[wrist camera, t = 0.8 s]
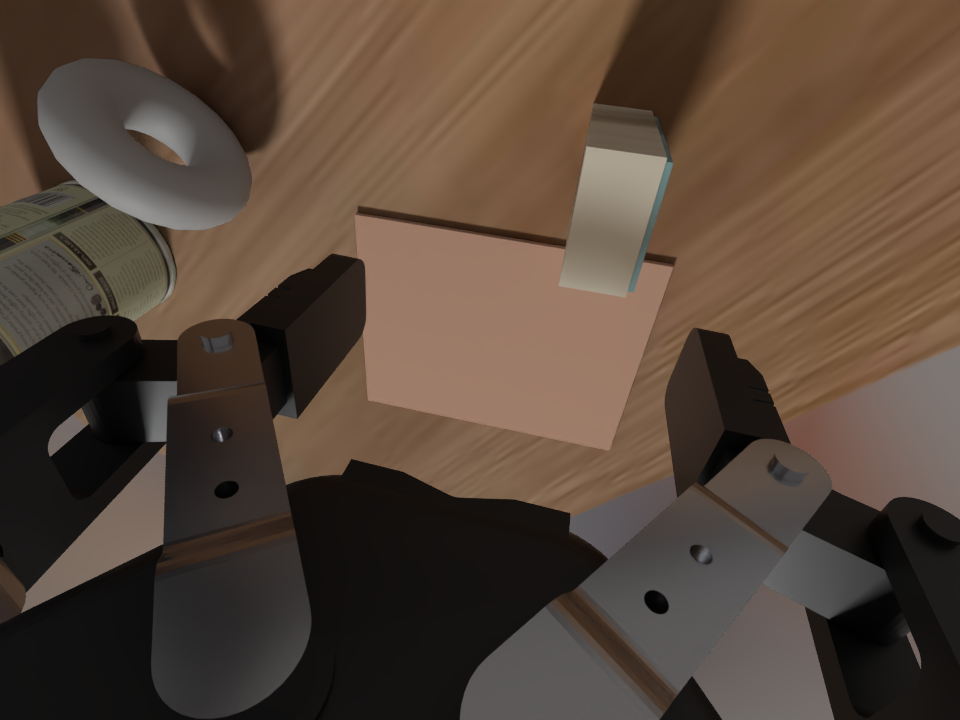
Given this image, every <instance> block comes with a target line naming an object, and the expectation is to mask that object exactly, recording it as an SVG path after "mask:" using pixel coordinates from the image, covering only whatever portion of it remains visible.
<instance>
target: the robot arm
mask: <svg viewBox="0 0 960 720" xmlns="http://www.w3.org/2000/svg"><path fill="white" fill-rule="evenodd" d="M365 323H366V277H365V265H364V262H363V261H362V260H361V259H357V258H352V257H347V256H342V255H337V254H330V255H329V256H328V257H327V258H326V259H324V260H323V261H322V262H321V263H320V264H319V265H317V266H316V267H315V268H314V269H306V270H304V271H301V272H298V273H296V274H293V275H291V276H289V277H288V278H287V279H286V280H284V281H283V282H282V283H281V284H279V285H278V288H275V289H273V290H272V291H271V292H270V293H268V296H265V297H264V298H262V299H261V300H260V301H259V302H257V303H256V304H255V305H254V306H253V307H251V308H250V309H249V310H248V311H246V312H245V313H244V314H243V315H242V316H240V317H239V318H238V319H237V320H234V319H215V320H209V321H205V322H201V323H198V324H196V325H194V326H191V327H190V328H188V329H186V330H185V331H184V332H183V333H182V334H181V335H180V336H179V338H178V340H141V337H140V334H139V331H138V328H137V325H136V324H135V322H134V321H132V320H131V319H128V318H126V317H122V316H115V315H103V316H94V317H89V318H84V319H81V320H77V321H74V322H72V323H69V324H67V325H65V326H63V327H62V328H60V329H58V330H57V331H55V332H53V333H52V334H50V335H49V336H47V337H45V338H44V339H42V340H41V341H39V342H38V343H36V344H34V345H33V346H31V347H30V348H28V349H26V350H25V351H23V352H22V353H20V354H18V355H17V356H15V357H14V358H12V359H10V360H9V361H7V362H6V363H4V364H2V365H1V366H0V720H722V719H721V717H720V716H719V714H718V713H717V711H716V710H715V709H714V707H713V706H712V704H711V703H710V701H709V700H708V698H707V697H706V695H705V694H704V692H703V691H702V690H701V688H700V687H699V685H698V684H697V682H696V681H695V679H694V678H693V677H692V675H693V674H694V673H695V671H696V670H697V669H698V667H699V666H700V665H701V663H702V662H703V661H704V659H705V658H706V657H707V655H708V654H709V653H710V652H711V650H712V649H713V648H714V646H715V645H716V644H717V642H718V641H719V640H720V638H721V637H722V636H723V634H724V633H725V632H726V630H727V629H728V628H729V626H730V625H731V624H732V622H733V621H734V620H735V619H736V617H737V616H738V615H739V613H740V612H741V611H742V609H743V608H744V607H745V605H746V604H747V603H748V601H749V600H750V599H751V598H752V596H753V595H754V594H755V592H756V591H757V590H758V588H759V587H760V586H761V584H763V585H765V586H767V587H769V588H771V589H773V590H775V591H777V592H779V593H780V594H782V595H784V596H786V597H788V598H790V599H792V600H794V601H796V602H797V603H799V604H802V605H803V606H805V609H806V613H807V617H808V621H809V624H810V628H811V632H812V635H813V640H814V644H815V647H816V651H817V655H818V659H819V662H820V666H821V670H822V674H823V678H824V682H825V685H826V689H827V693H828V697H829V701H830V704H831V708H832V712H833V716H834V719H835V720H960V520H959V519H958V518H957V517H955V516H954V515H952V514H950V513H949V512H947V511H945V510H943V509H942V508H940V507H938V506H936V505H933V504H931V503H928V502H926V501H923V500H919V499H915V498H909V497H899V498H895V499H893V500H891V501H890V502H889V503H888V504H887V505H886V506H885V507H884V509H883V510H882V511H878V510H876V509H874V508H871V507H869V506H867V505H865V504H863V503H860V502H857V501H856V500H854V499H851V498H849V497H847V496H844V495H842V494H840V493H838V492H836V491H834V490H832V482H831V478H830V476H829V474H828V473H827V471H826V470H825V469H824V467H823V466H822V465H821V464H820V463H819V462H818V461H817V460H816V459H815V458H813V457H812V456H811V455H809V454H808V453H806V452H805V451H803V450H801V449H800V448H798V447H796V446H793V445H791V443H790V441H789V438H788V436H787V434H786V431H785V429H784V426H783V424H782V422H781V419H780V417H779V414H778V412H777V409H776V407H774V406H773V405H774V402H773V400H772V397H771V395H770V394H768V391H769V390H768V388H767V385H766V383H765V381H764V378H763V376H762V375H761V373H760V372H759V371H758V370H757V369H756V368H755V367H754V366H753V365H752V364H751V363H750V362H749V361H748V360H745V359H740V358H738V357H737V355H736V352H735V349H734V346H733V344H732V341H731V338H730V336H729V335H728V334H724V333H719V332H714V331H709V330H704V329H699V328H694V329H692V330H691V332H690V333H689V335H688V337H687V340H686V342H685V344H684V347H683V349H682V351H681V354H680V356H679V359H678V361H677V363H676V366H675V368H674V370H673V373H672V375H671V377H670V380H669V382H668V386H667V390H666V395H665V411H666V419H667V426H668V433H669V441H670V448H671V456H672V463H673V470H674V478H675V485H676V492H677V499H676V500H675V501H674V502H672V503H671V504H670V505H669V506H668V507H667V508H666V509H665V510H663V511H662V512H661V513H660V514H659V515H658V516H657V517H656V518H654V519H653V520H652V521H651V522H650V523H649V524H648V525H647V526H645V527H644V528H643V529H642V530H641V531H640V532H639V533H638V534H637V535H635V536H634V537H633V538H632V539H631V540H630V541H629V542H627V543H626V544H625V545H624V546H623V547H622V548H621V549H620V550H619V551H618V552H616V553H615V554H614V555H613V556H612V557H611V558H610V559H608V558H606V556H604V555H603V554H602V553H601V552H600V551H598V550H597V549H596V548H595V547H593V546H592V545H591V544H589V543H588V542H586V541H585V540H583V539H581V538H580V537H578V536H577V535H575V534H573V533H571V532H569V525H570V513H567V512H562V511H558V510H554V509H550V508H546V507H542V506H538V505H534V504H530V503H526V502H522V501H518V500H510V499H480V498H457V497H453V496H450V495H448V494H446V493H444V492H442V491H440V490H438V489H436V488H434V487H432V486H430V485H428V484H426V483H424V482H422V481H420V480H418V479H416V478H414V477H412V476H410V475H408V474H406V473H404V472H401V471H397V470H393V469H389V468H385V467H381V466H377V465H373V464H369V463H365V462H361V461H357V460H353V459H351V461H350V462H349V464H348V466H347V468H346V469H345V471H344V473H343V474H342V475H328V476H319V477H313V478H308V479H304V480H300V481H296V482H293V483H291V484H288V485H286V484H285V479H284V474H283V469H282V464H281V459H280V454H279V449H278V444H277V439H276V434H275V429H274V424H273V419H274V418H275V416H276V415H277V414H279V415H283V416H287V417H291V418H295V419H298V417H299V416H300V415H301V413H302V412H303V411H304V410H305V408H306V407H307V406H308V404H309V403H310V402H311V400H312V399H313V398H314V397H315V395H316V394H317V393H318V391H319V390H320V389H321V388H322V386H323V385H324V384H325V382H326V381H327V380H328V378H329V377H330V376H331V375H332V373H333V372H334V371H335V369H336V368H337V367H338V366H339V364H340V363H341V362H342V360H343V359H344V358H345V357H346V355H347V354H348V353H349V351H350V350H351V349H352V347H353V346H354V345H355V344H356V342H357V341H358V340H359V338H360V337H361V335H362V333H363V330H364V327H365ZM80 408H82V410H83V412H84V414H85V416H86V418H87V420H88V423H89V424H88V425H87V426H86V427H85V428H84V429H82V430H81V431H80V432H79V433H78V434H77V435H75V436H74V437H73V438H72V439H71V440H70V441H68V442H67V443H66V444H65V445H64V446H63V447H61V448H60V449H59V450H58V451H57V452H56V453H54V454H53V455H52V456H51V457H50V456H49V453H48V442H49V439H50V437H51V435H52V433H53V432H54V430H55V429H56V428H57V427H58V426H59V425H60V424H61V423H63V422H64V421H65V420H66V419H68V418H69V417H70V416H71V415H73V414H74V413H75V412H76V411H78V410H79V409H80ZM165 444H166V470H165V503H164V505H165V506H164V538H163V539H164V540H163V545H160V546H158V547H156V548H154V549H152V550H150V551H148V552H146V553H144V554H142V555H140V556H138V557H136V558H134V559H132V560H130V561H128V562H126V563H123V564H122V565H119V566H117V567H115V568H113V569H111V570H109V571H107V572H105V573H103V574H101V575H99V576H97V577H95V578H93V579H91V580H89V581H86V582H84V583H82V584H80V585H78V586H76V587H74V588H72V589H70V590H68V591H66V592H64V593H62V594H60V595H58V596H56V597H54V598H52V599H50V600H48V601H45V602H43V603H41V604H39V605H37V606H35V607H33V608H31V609H29V610H27V611H25V612H23V613H21V611H22V609H23V606H24V604H25V598H26V592H27V591H28V590H29V589H30V588H31V587H32V586H33V585H34V584H35V583H36V582H37V581H38V579H39V578H40V577H41V576H42V575H43V574H44V573H45V572H46V571H47V570H48V569H49V568H50V567H51V566H52V564H53V563H54V562H55V561H56V560H57V559H58V558H59V557H60V556H61V555H62V554H63V553H64V552H65V550H66V549H67V548H68V547H69V546H70V545H71V544H72V543H73V542H74V541H75V540H76V539H77V538H78V536H79V535H81V533H82V532H83V531H84V530H85V529H86V528H87V527H88V526H89V525H90V524H91V523H92V522H93V520H94V519H95V518H96V517H97V516H98V515H99V514H100V513H101V512H102V511H103V510H104V509H105V508H106V507H107V506H108V505H109V503H110V502H111V501H112V500H113V499H114V498H115V497H116V496H117V495H118V494H119V493H120V492H121V491H122V490H123V489H124V487H125V486H126V485H127V484H128V483H129V482H130V481H131V480H132V479H133V478H134V477H135V476H136V475H137V474H138V472H139V471H140V470H141V469H142V468H143V467H144V466H145V465H146V464H147V463H148V462H149V461H150V460H151V459H152V458H153V457H154V455H155V454H156V453H157V452H158V451H159V450H160V449H161V448H162V447H163V446H164V445H165ZM20 613H21V614H20ZM910 631H911V633H912V636H913V638H914V640H915V643H916V645H917V647H918V650H919V653H920V657H921V669H920V667H919V664H918V662H917V659H916V657H915V654H914V652H913V650H912V647H911V645H910V643H909V640H908V638H907V635H906V634H907V633H909V632H910Z"/></svg>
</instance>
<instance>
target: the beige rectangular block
mask: <svg viewBox="0 0 960 720" xmlns="http://www.w3.org/2000/svg"><path fill="white" fill-rule="evenodd" d="M672 166H673V160H672V157H671V155H670V152H669V149H668V146H667V143H666V140H665V137H664V135H663V132H662V129H661V126H660V123H659V120H658V117H656V116H654V115H653V112H652V111H650V110H642V109H634V108H626V107H619V106H611V105H603V104H596V103H593V108H592V113H591V118H590V123H589V129H588V134H587V139H586V144H585V149H584V154H583V159H582V164H581V169H580V174H579V179H578V184H577V189H576V194H575V199H574V204H573V209H572V214H571V220H570V225H569V231H568V236H567V242H566V247H565V253H564V259H563V264H562V270H561V275H560V281H559V286H561V287H567V288H573V289H579V290H584V291H590V292H596V293H602V294H607V295H613V296H619V297H625V298H626V295H627V292H632V293H634V290H635V287H636V283H637V280H638V277H639V274H640V270H641V267H642V264H643V261H644V257H645V254H646V251H647V248H648V244H649V241H650V238H651V235H652V231H653V228H654V225H655V221H656V218H657V215H658V212H659V208H660V205H661V202H662V199H663V195H664V192H665V189H666V186H667V182H668V179H669V176H670V173H671V169H672Z"/></svg>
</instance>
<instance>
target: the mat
mask: <svg viewBox="0 0 960 720" xmlns="http://www.w3.org/2000/svg"><path fill="white" fill-rule="evenodd" d="M355 227H356V241H357V255H358V259H361V260H362V261H363V262H364V265H365V277H366V323H365V327H364V330H363V338H364V351H365V365H366V379H367V393H368V400H370V401H375V402H379V403H384V404H389V405H394V406H398V407H403V408H408V409H413V410H417V411H422V412H427V413H432V414H437V415H441V416H446V417H451V418H456V419H460V420H465V421H470V422H475V423H480V424H484V425H489V426H494V427H499V428H503V429H508V430H513V431H518V432H523V433H527V434H532V435H537V436H542V437H546V438H551V439H556V440H561V441H566V442H570V443H575V444H580V445H585V446H589V447H594V448H599V449H604V450H608V451H609V450H610V448H611V445H612V442H613V439H614V436H615V433H616V430H617V427H618V425H619V422H620V419H621V416H622V413H623V410H624V407H625V405H626V402H627V399H628V396H629V393H630V390H631V387H632V385H633V382H634V379H635V376H636V373H637V370H638V367H639V365H640V362H641V359H642V356H643V353H644V350H645V347H646V345H647V342H648V339H649V336H650V333H651V330H652V327H653V324H654V322H655V319H656V316H657V313H658V310H659V307H660V304H661V302H662V299H663V296H664V293H665V290H666V287H667V284H668V282H669V279H670V276H671V273H672V270H673V264H668V263H662V262H656V261H650V260H644V261H643V264H642V267H641V270H640V274H639V277H638V280H637V283H636V287H635V290H634V293H632V292H627V295H626V298H625V297H619V296H613V295H607V294H602V293H596V292H590V291H584V290H579V289H573V288H567V287H561V286H559V281H560V275H561V270H562V264H563V259H564V253H565V246H559V245H552V244H546V243H540V242H534V241H528V240H522V239H516V238H510V237H504V236H498V235H492V234H486V233H479V232H473V231H467V230H461V229H455V228H449V227H443V226H437V225H431V224H425V223H419V222H413V221H406V220H400V219H394V218H388V217H382V216H376V215H370V214H364V213H358V212H357V213H356V214H355Z"/></svg>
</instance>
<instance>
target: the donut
mask: <svg viewBox="0 0 960 720" xmlns="http://www.w3.org/2000/svg"><path fill="white" fill-rule="evenodd" d="M37 105H38V123H39V127H40V129H41V131H42V134H43V136H44V137H45V139H46V141H47V143H48V145H49V147H50V149H51V150H52V152H53V154H54V156H55V158H56V160H57V161H58V162H59V163H60V164H61V165H62V166H63V167H64V168H65V169H66V170H67V171H68V172H69V173H70V174H71V175H72V176H73V177H74V178H75V179H76V180H77V181H78V183H79V184H80V185H82V186H83V187H85V188H86V189H87V190H89V191H90V192H92V193H93V194H95V195H96V196H98V197H99V198H100V199H102V200H103V201H105V202H106V203H108V204H109V205H110V206H112V207H114V208H116V209H118V210H120V211H122V212H125V213H127V214H129V215H131V216H133V217H135V218H138V219H140V220H142V221H144V222H148V223H152V224H156V225H160V226H164V227H168V228H172V229H176V230H205V229H209V228H212V227H215V226H218V225H221V224H224V223H227V222H229V221H231V220H232V219H233V218H234V217H235V216H236V215H237V214H238V213H239V212H240V211H241V210H242V209H243V208H244V207H245V206H246V204H247V202H248V199H249V195H250V190H251V185H252V175H251V171H250V167H249V162H248V158H247V156H246V154H245V152H244V150H243V148H242V147H241V145H240V143H239V141H238V140H237V138H236V136H235V134H234V133H233V132H232V131H231V129H230V128H229V127H228V126H227V125H226V124H225V122H224V121H223V120H222V119H221V118H220V117H219V115H218V114H217V113H215V112H214V111H213V110H212V109H211V108H210V107H208V106H207V105H206V104H205V103H204V102H203V101H201V100H200V99H199V98H198V97H197V96H195V95H194V94H192V93H191V92H189V91H188V90H186V89H184V88H183V87H181V86H180V85H178V84H177V83H175V82H174V81H172V80H170V79H168V78H166V77H164V76H162V75H159V74H157V73H155V72H153V71H151V70H149V69H146V68H144V67H141V66H137V65H134V64H130V63H126V62H123V61H119V60H112V59H89V58H83V59H80V60H77V61H74V62H71V63H68V64H65V65H63V66H60V67H58V68H56V69H54V70H53V72H52V73H51V75H50V76H49V77H48V79H47V80H46V82H45V83H44V84H43V86H42V87H41V89H40V90H39V92H38V99H37ZM126 129H130V130H136V131H139V132H141V133H144V134H147V135H150V136H152V137H154V138H155V139H157V140H159V141H161V142H162V143H164V144H166V145H167V146H168V147H169V148H171V149H172V150H173V151H174V152H176V153H177V154H178V155H179V156H180V157H181V159H182V160H183V161H184V162H185V164H186V166H185V165H179V164H176V163H173V162H170V161H167V160H165V159H163V158H161V157H159V156H157V155H156V154H154V153H152V152H150V151H149V150H147V149H146V148H145V147H143V146H142V145H141V144H139V143H138V142H137V141H136V140H134V139H133V137H132V136H131V135H130V134H129V133H128V132H127V130H126Z"/></svg>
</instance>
